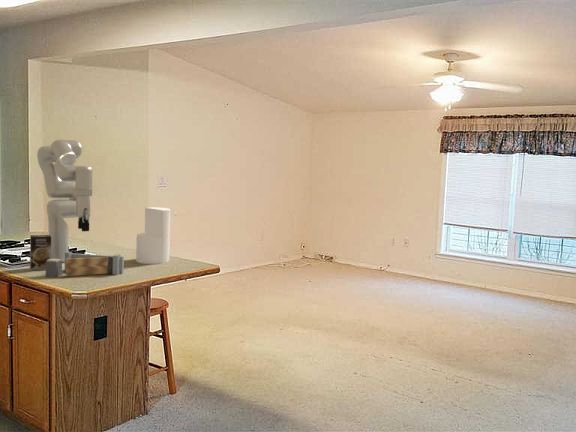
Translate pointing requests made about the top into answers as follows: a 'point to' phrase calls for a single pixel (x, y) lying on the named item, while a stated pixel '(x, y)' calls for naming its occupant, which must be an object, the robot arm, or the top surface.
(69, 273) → the door
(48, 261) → the grey rectangular block
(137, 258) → the stepped white column
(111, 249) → the top surface
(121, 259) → the wall
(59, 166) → the robot arm
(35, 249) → the coffee box
